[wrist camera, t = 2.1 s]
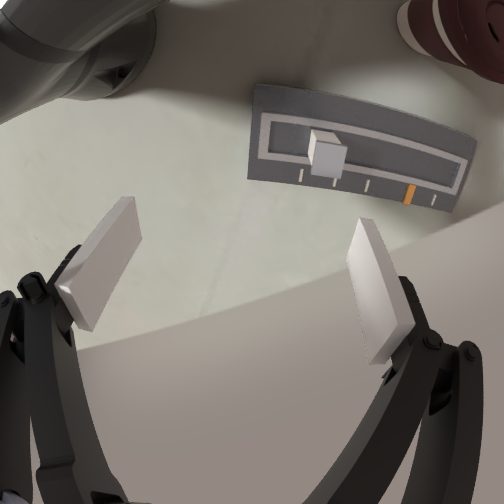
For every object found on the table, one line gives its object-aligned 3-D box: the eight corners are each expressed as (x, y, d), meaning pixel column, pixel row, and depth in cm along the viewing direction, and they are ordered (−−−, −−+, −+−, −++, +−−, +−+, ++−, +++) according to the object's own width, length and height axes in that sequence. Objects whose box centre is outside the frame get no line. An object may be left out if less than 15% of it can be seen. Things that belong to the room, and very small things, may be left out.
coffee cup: (449, -1, 15) (532, -6, 3) (459, 70, 21) (545, 98, 9) (376, -14, 17) (443, -48, 5) (391, 63, 23) (468, 77, 11)
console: (248, 173, 34) (246, 182, 32) (255, 83, 27) (254, 85, 24) (444, 206, 33) (452, 215, 31) (468, 135, 26) (479, 142, 24)
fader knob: (305, 154, 29) (311, 174, 25) (309, 127, 27) (316, 141, 23) (330, 158, 29) (340, 178, 25) (335, 131, 27) (347, 147, 23)
